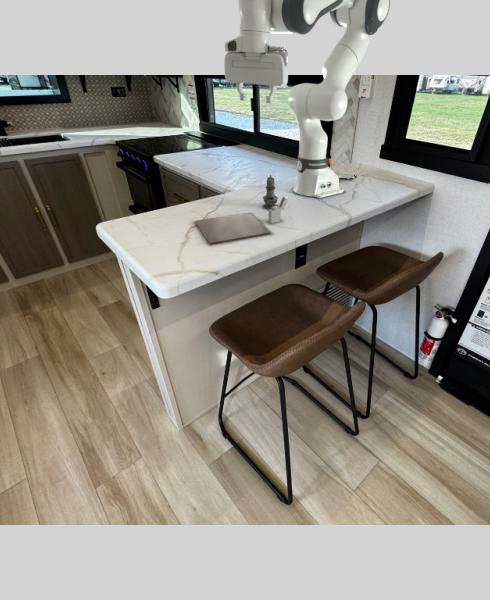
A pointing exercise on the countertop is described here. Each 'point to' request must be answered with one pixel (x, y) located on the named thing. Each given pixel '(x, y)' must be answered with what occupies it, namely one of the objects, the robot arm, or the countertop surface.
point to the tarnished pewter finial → (270, 194)
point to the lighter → (277, 211)
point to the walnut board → (231, 228)
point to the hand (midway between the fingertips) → (256, 101)
